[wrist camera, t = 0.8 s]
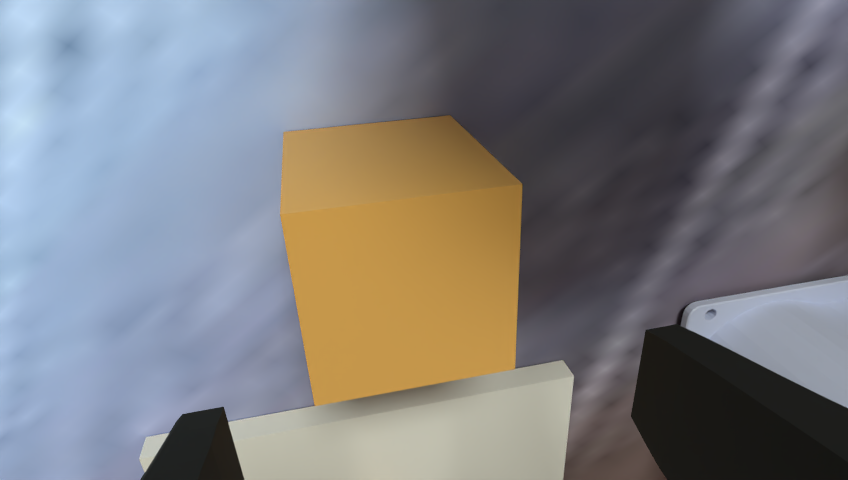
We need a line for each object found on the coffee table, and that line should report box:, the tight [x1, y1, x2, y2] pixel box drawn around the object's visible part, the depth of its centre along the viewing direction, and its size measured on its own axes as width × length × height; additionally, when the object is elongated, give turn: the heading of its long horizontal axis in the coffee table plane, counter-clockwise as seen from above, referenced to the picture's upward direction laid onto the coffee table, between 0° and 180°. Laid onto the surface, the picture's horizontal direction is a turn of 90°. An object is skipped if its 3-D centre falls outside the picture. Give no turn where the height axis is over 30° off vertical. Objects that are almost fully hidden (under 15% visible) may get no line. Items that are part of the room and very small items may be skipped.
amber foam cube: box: [280, 115, 523, 406], centre depth 15 cm, size 5×5×6 cm
